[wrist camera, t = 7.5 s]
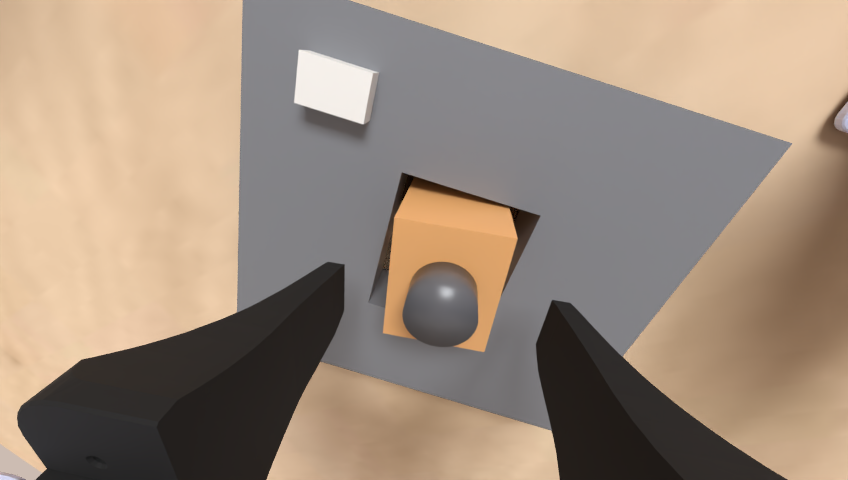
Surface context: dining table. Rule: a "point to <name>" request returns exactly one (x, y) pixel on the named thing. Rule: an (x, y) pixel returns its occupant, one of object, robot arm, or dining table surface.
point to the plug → (447, 266)
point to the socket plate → (470, 185)
